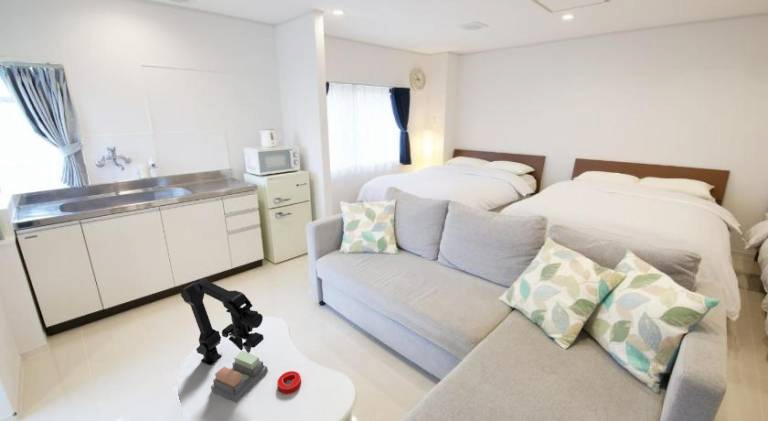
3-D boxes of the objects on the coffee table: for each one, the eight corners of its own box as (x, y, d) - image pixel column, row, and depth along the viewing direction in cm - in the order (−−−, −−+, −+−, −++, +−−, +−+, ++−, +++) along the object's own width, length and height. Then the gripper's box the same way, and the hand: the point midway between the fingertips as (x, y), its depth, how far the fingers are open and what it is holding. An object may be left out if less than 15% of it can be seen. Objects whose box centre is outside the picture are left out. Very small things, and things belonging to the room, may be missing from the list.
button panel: (211, 391, 141) (209, 381, 139) (244, 361, 156) (242, 352, 154) (236, 402, 135) (233, 392, 133) (267, 371, 151) (266, 361, 149)
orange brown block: (216, 381, 140) (215, 373, 139) (225, 373, 144) (223, 366, 142) (234, 389, 136) (232, 381, 135) (242, 381, 140) (241, 373, 138)
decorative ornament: (279, 378, 147) (278, 372, 146) (301, 374, 149) (301, 368, 148) (277, 396, 138) (276, 390, 137) (300, 392, 140) (300, 386, 139)
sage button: (235, 364, 148) (234, 357, 147) (243, 357, 152) (242, 350, 151) (252, 371, 145) (251, 364, 143) (260, 364, 148) (258, 357, 147)
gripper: (270, 315, 144) (274, 345, 149) (238, 305, 151) (243, 333, 157) (250, 331, 134) (256, 362, 140) (217, 319, 142) (224, 349, 147)
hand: (245, 351), depth 146 cm, fingers open, 4 cm apart
